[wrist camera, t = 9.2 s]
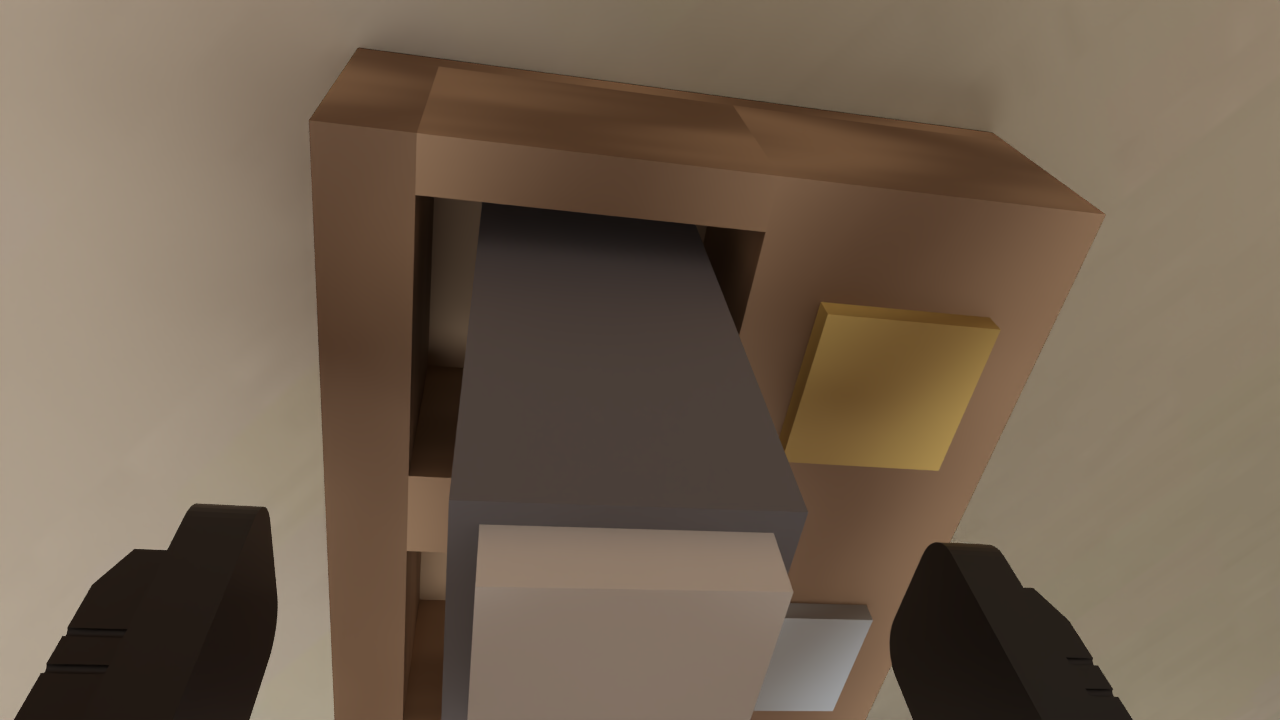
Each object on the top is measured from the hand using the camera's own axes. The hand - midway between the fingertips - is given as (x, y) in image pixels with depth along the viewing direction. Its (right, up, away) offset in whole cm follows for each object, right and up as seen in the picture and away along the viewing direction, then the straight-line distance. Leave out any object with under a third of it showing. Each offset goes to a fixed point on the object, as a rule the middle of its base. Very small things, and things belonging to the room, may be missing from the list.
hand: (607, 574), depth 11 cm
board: (0, +2, +9) cm, 9 cm away
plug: (-1, +5, +6) cm, 8 cm away
